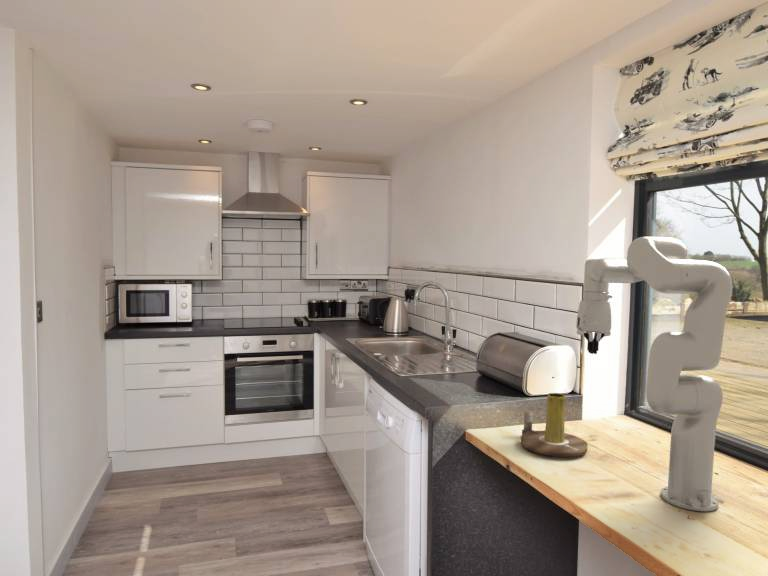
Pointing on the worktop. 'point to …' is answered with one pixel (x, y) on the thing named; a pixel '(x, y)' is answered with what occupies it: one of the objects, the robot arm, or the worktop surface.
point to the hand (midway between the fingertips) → (592, 353)
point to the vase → (555, 418)
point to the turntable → (540, 445)
